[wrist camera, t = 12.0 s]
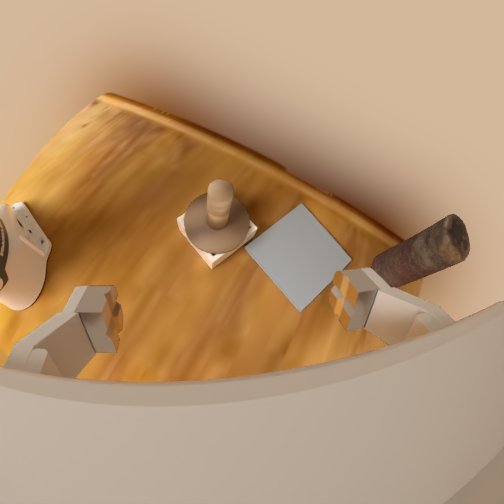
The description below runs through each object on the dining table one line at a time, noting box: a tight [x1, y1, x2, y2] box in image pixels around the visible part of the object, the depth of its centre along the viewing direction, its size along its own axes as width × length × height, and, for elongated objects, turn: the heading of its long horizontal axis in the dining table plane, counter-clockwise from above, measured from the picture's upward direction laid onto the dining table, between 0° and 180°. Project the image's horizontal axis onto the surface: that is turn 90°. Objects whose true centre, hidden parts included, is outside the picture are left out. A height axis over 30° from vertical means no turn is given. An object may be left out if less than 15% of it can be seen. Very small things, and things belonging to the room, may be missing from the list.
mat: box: [244, 203, 352, 312], centre depth 47 cm, size 14×14×1 cm
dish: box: [177, 212, 258, 269], centre depth 44 cm, size 9×9×4 cm
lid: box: [184, 179, 250, 254], centre depth 37 cm, size 10×10×10 cm
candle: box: [372, 214, 470, 288], centre depth 40 cm, size 8×7×20 cm
